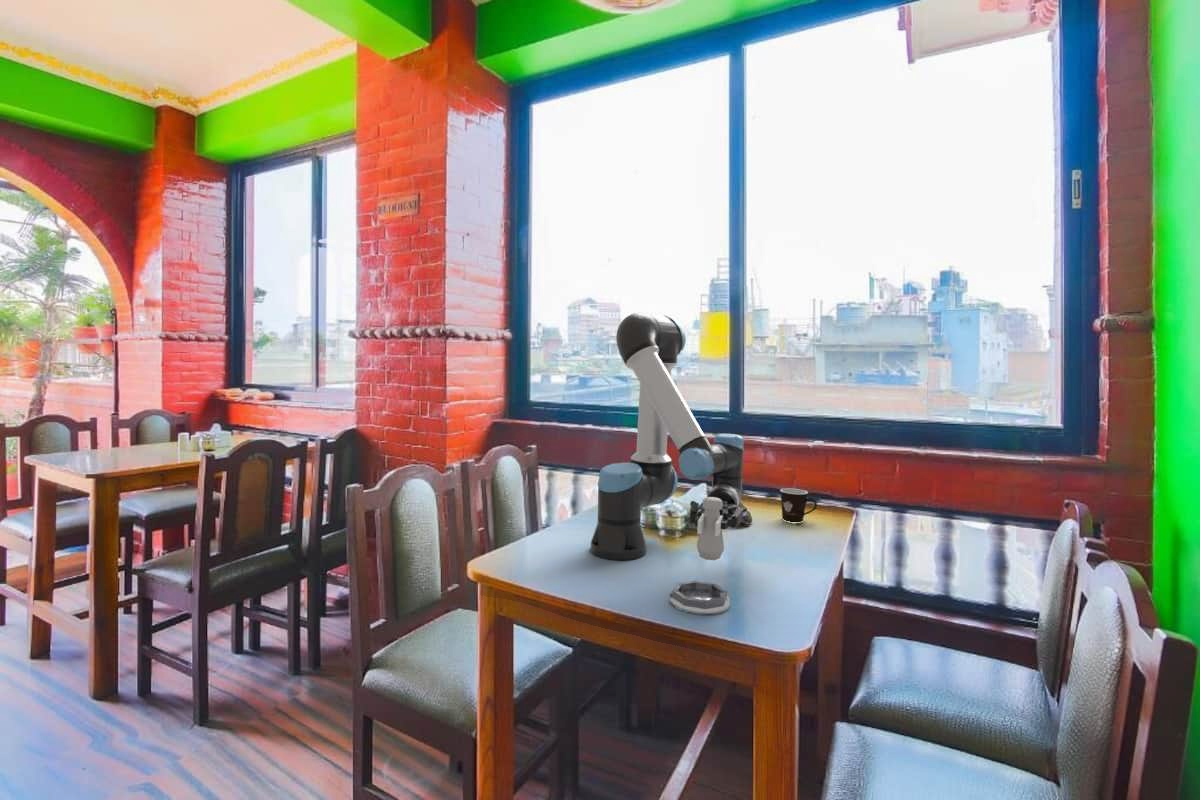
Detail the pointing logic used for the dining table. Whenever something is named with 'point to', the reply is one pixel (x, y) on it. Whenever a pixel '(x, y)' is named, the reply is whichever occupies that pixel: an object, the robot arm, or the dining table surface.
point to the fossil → (748, 519)
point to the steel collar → (700, 597)
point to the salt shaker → (710, 530)
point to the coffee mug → (794, 504)
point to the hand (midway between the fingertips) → (708, 528)
